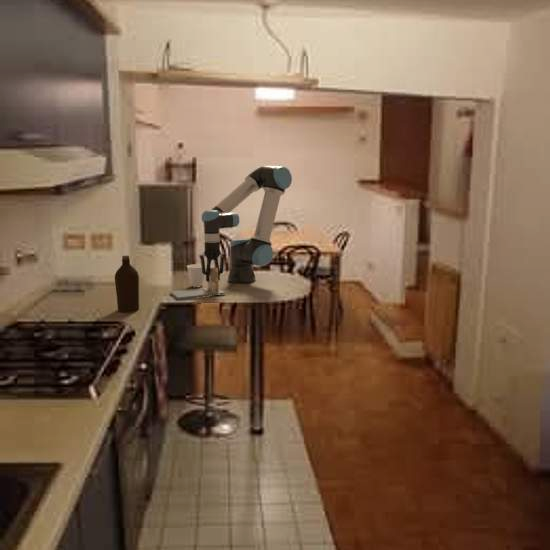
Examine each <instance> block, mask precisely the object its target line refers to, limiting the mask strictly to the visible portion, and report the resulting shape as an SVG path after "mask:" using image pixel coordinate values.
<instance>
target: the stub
mask: <svg viewBox="0 0 550 550" xmlns="http://www.w3.org/2000/svg"><path fill="white" fill-rule="evenodd" d="M209 275H211V288H208V287H201V289H203V290H204V291H205V292H207V293H208V294H209V295H210V296H211V295H218V294H225V295H226V292H225V291H223V290H222V289H220V287H219V281H218V268H216V267H215V265H210V273H209ZM210 296H209V297H210ZM211 297H212V296H211Z"/></svg>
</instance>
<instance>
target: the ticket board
mask: <svg viewBox="0 0 550 550" xmlns="http://www.w3.org/2000/svg"><path fill="white" fill-rule="evenodd" d="M169 293H171V294H172V295H173V296H174V297H175V299H176V300H177V301H185V300H194V298H195V299H198V298H197V297H203V296H209V294H208V293H207V292H205V291H204V290H203V289H202V287H198V288H190V289H189V288H188V289H180V290H171V291H170V292H169ZM171 294H170V295H171ZM172 295H171V296H172ZM173 296H172V297H173ZM174 297H173V298H174ZM209 297H210V296H209Z"/></svg>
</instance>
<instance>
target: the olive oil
mask: <svg viewBox="0 0 550 550" xmlns="http://www.w3.org/2000/svg"><path fill="white" fill-rule="evenodd" d="M121 257H122V259H121V263H122V264H121V265H120V267H119V268H118V269H117V270H116V272H115V274H114V283H115V284H114V285H115V294H116V302H117V311H118V312H120V313H134V311H135V312H137V310H138V311H139V310H140V289H139V288H140V284H139V283H140V275H139V272H138V271H137V269H135V267H133V266H132V264H131V259H130V256H129V255H122V256H121Z"/></svg>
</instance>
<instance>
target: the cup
mask: <svg viewBox="0 0 550 550" xmlns="http://www.w3.org/2000/svg"><path fill="white" fill-rule="evenodd" d="M186 268H187V273H188V274H187V275H188V278H189V283H190V287H192V286H193V287H192V288H195V287H197V288H199V287H198V286H202V285H204V284H203V283H204V279H205V278H204V276H205V275H204V274H203V273H202V267H201V263H200V264H199V263H196V264H193V263H192V264H188V265H186ZM202 287H203V286H202Z"/></svg>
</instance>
